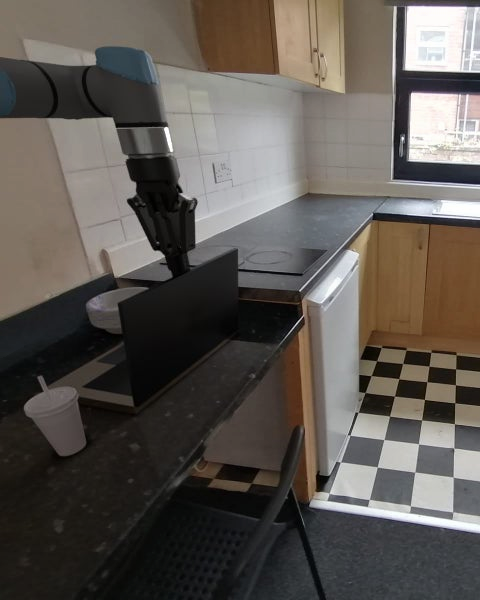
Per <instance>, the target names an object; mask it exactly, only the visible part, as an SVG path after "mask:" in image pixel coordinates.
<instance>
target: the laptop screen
mask: <svg viewBox="0 0 480 600" xmlns="http://www.w3.org/2000/svg"><path fill="white" fill-rule="evenodd" d="M147 288H148V289H146V290H144V291H142V292H140V293H138V294H136V295H133V296H131V297H129V298H127V299H125V300H123V301H121V302H119V303H117V304H118V310H119V316H120V322H121V329H122V334H121V335H122V340H123V342H124V347H125V354H126V360H127V366H128V372H129V379H130V385H131V391H132V398H133V404H134V407H137V408H138V407H139V406H141V405H142V404H143V403H144V402H146V401H147V400H148V399H150V398H151V397H152V396H153V395H155V394H156V393H157V392H159V391H160V390H161V389H162V388H164V387H165V386H166V385H168V384H169V383H170V382H171V381H173V380H174V379H175V378H177V377H178V376H179V375H180V374H182V373H183V372H184V371H186V370H187V369H188V368H189V367H191V366H192V365H193V364H195V363H196V362H197V361H198V360H200V359H201V358H202V357H204V356H205V355H206V354H207V353H209V352H210V351H211V350H213V349H214V348H215V347H216V346H218V345H219V344H220V343H222V342H223V341H224V340H225V339H227V338H228V337H229V336H231V335H232V334H233V333H234V332H236V333H237V331H238V330H239V327H240V325H239V322H240V321H239V248H237V247H234V248H233V247H232V248H231V249H229V250H227V251H225V252H223V253H221V254H218V255H216V256H215V257H212V258H210V259H208V260H206V261H203V262H202V263H199V264H197V265H195V266H193V267H190V269H189V270H187V271H185V272H182V273H180V274H178V275H176V276H174V277H172V276H171V277H169V278H167V279H166V280H164V281H161V282H159V283H156V284H155V285H153V286H151V287H147Z"/></svg>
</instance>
